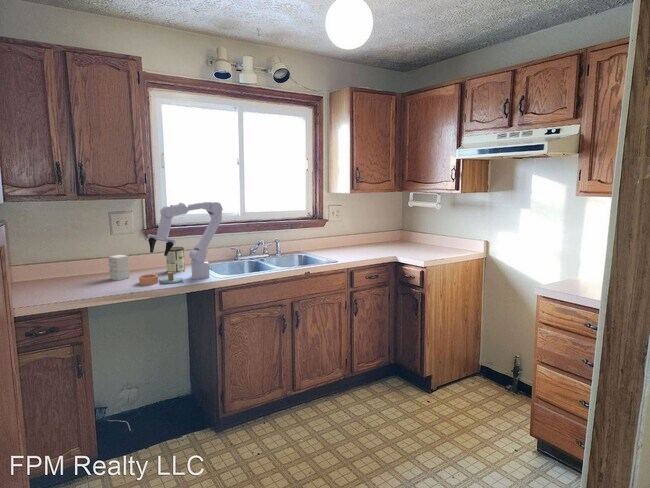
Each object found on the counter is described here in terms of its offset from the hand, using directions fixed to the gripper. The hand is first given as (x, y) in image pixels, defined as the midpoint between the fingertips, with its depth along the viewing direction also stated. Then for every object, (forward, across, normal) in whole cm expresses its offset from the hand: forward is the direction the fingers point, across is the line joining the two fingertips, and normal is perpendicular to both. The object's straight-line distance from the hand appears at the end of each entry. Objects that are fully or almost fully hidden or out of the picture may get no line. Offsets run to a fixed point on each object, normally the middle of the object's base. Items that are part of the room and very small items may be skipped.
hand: (158, 254), depth 223 cm
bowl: (+16, -2, +1) cm, 16 cm away
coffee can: (+11, 0, +30) cm, 32 cm away
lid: (+13, +8, +4) cm, 16 cm away
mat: (+14, +8, +5) cm, 16 cm away
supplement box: (+19, -22, +11) cm, 31 cm away
